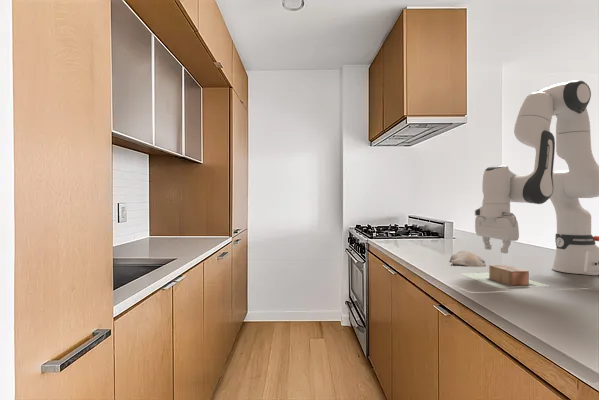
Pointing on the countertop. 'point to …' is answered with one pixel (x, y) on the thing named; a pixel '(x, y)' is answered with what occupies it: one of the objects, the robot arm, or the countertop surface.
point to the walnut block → (509, 275)
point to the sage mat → (485, 279)
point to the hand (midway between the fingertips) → (495, 251)
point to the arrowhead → (467, 259)
